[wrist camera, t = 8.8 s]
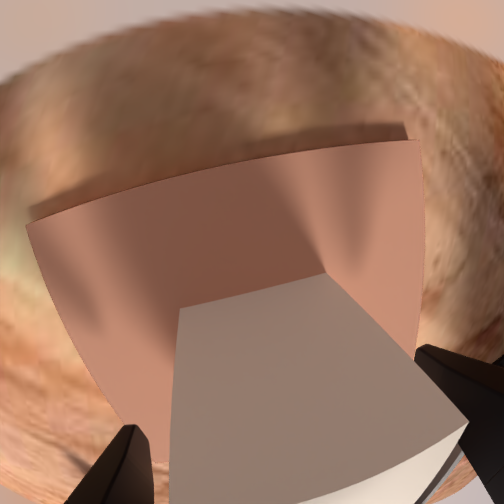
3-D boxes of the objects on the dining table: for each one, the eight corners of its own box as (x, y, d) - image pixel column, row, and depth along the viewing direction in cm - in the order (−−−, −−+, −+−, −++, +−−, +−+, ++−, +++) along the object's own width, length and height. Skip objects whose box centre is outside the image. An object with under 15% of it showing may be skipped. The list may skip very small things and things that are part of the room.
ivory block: (326, 272, 10) (468, 421, 3) (332, 377, 11) (409, 509, 5) (179, 308, 9) (169, 521, 3) (218, 407, 11) (241, 562, 4)
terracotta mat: (409, 139, 9) (419, 139, 9) (400, 389, 14) (405, 396, 13) (33, 221, 8) (25, 225, 8) (156, 454, 12) (155, 462, 12)
